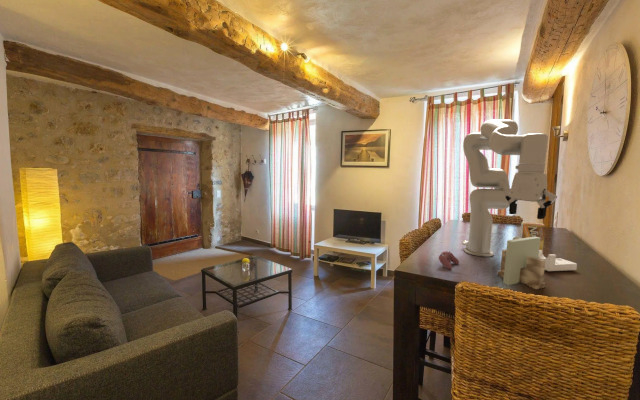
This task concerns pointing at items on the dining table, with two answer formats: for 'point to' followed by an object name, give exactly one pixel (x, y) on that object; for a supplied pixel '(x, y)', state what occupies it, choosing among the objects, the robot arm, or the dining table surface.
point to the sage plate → (519, 257)
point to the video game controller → (448, 259)
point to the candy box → (533, 231)
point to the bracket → (556, 263)
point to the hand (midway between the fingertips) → (526, 216)
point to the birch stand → (528, 271)
